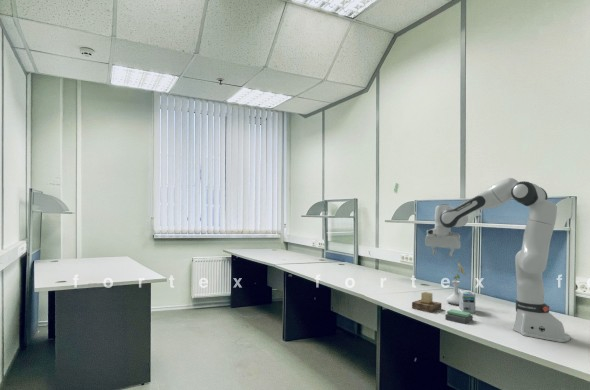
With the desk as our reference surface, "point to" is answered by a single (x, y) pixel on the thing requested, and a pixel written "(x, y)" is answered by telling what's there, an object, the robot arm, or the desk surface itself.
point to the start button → (459, 313)
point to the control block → (458, 318)
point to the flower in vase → (455, 288)
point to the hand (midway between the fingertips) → (442, 255)
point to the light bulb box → (467, 301)
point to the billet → (426, 298)
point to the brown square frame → (426, 306)
